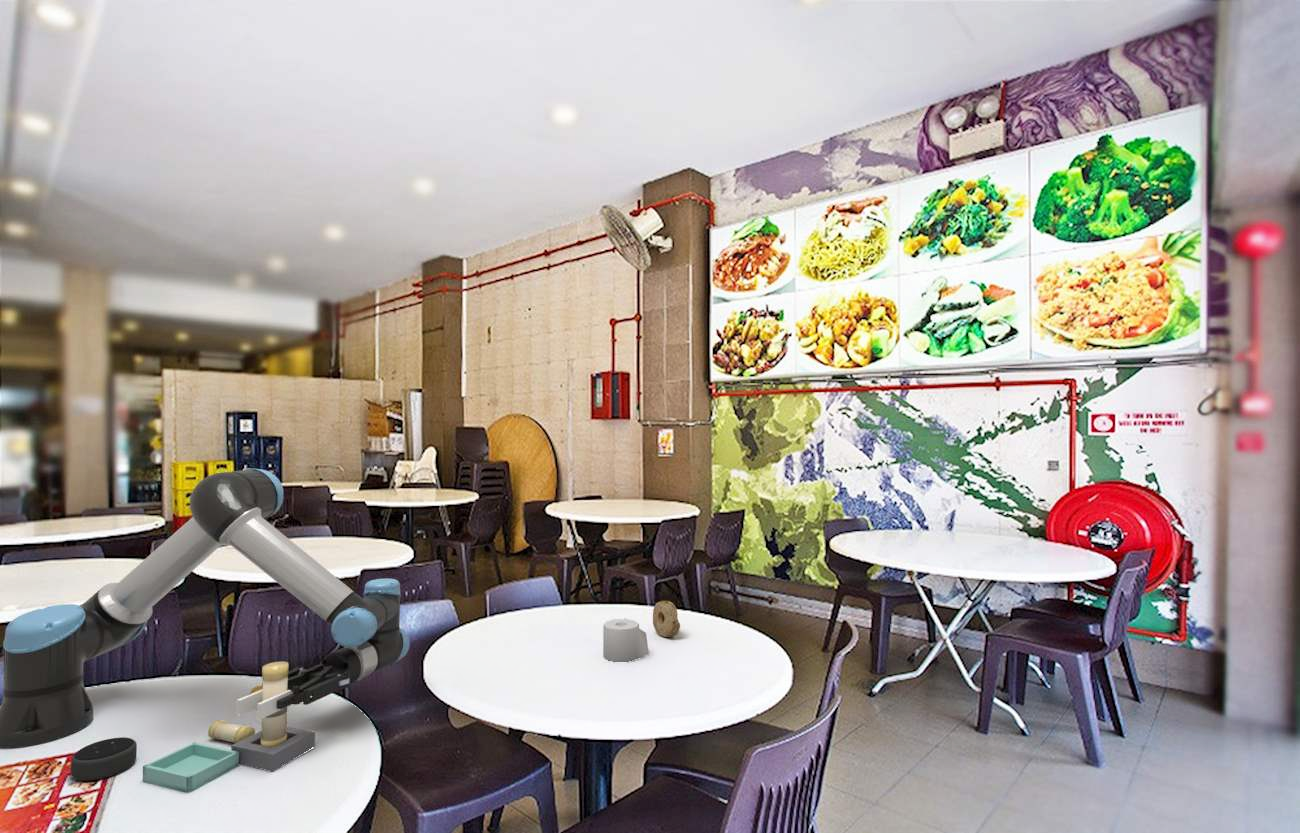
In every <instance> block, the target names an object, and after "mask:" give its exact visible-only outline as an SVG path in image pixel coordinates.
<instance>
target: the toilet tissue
mask: <svg viewBox="0 0 1300 833" xmlns="http://www.w3.org/2000/svg"><path fill="white" fill-rule="evenodd" d="M602 631H603V633H602V634H603V639H602V640H603V641H602V644H603V645H602V646H603V648H602V649H603V650H602V651H603V652H602V653H603V654H602V655H603V656H602V657H604V658H603V659H604V660H606V661H607V660H608V661H607V662H610V661H613V662H612V663H615V662H627V663H630V662H629V661H631V662H633V661H632V660H634V661H636V660H635V659H637V660H639V659H638V658H640V659H642V658H641V657H643V658H645V657H646V656H645V655H647V654H648V653H649V654H650V652H649V644H648V638H647V632H645V631H644V630H642V629H641V628H640V623H639V622H638V621H636V620H633V619H626V618H617V619H615V618H614V619H610V620H607V621H605V623H603V630H602ZM649 654H648V655H649ZM648 655H647V656H648ZM644 656H645V657H644Z"/></svg>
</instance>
